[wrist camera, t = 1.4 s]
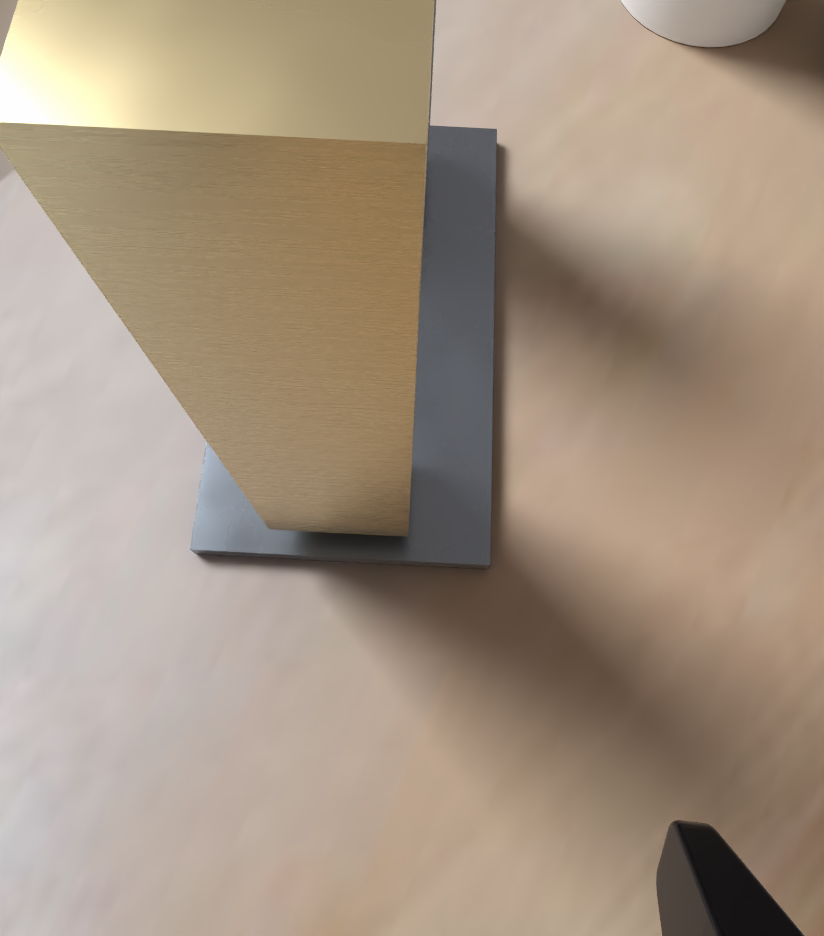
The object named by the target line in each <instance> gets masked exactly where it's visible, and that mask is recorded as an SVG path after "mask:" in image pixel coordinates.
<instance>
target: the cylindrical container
mask: <svg viewBox="0 0 824 936" xmlns="http://www.w3.org/2000/svg"><path fill="white" fill-rule="evenodd" d="M621 2H622V4H623V5H624V6H625V8H626V9H627V10H628V12H629V13H630V14H631V15H632V16H633V17H634V18H635V19H636V20H637V21H639V22H640V23H641V24H642V25H643V26H644V27H646V28H648V29H649V30H651V31H653V32H655V33H656V34H658V35H660V36H662V37H665V38H667V39H670V40H672V41H675V42H679V43H683V44H687V45H691V46H700V47H725V46H730V45H735V44H740V43H743V42H745V41H748V40H750V39H753V38H755V37H757V36H758V35H760V34H761V33H763V32H764V31H766V30H767V29H768V28H769V27H770V26H771V25H772V24H773V22H774V21H775V20H776V19H777V17H778V15H779V13H780V11H781V9H782V8H783V6H784V4H785V2H786V0H621Z"/></svg>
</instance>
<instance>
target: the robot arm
mask: <svg viewBox="0 0 824 936" xmlns="http://www.w3.org/2000/svg"><path fill="white" fill-rule="evenodd" d="M656 887H657V898H658V905H659V913H660V921H661V928H662V936H804V935H803V934H802V932H801V931H800V930H799V929H798V928H797V926H796V925H795V924H794V923H793V922H792V920H791V919H790V918H789V917H788V916H787V914H786V913H785V912H784V911H783V910H782V908H781V907H780V906H779V905H778V904H777V902H776V901H775V900H774V899H773V898H772V897H771V895H770V894H769V893H768V892H767V891H766V889H765V888H764V887H763V886H762V885H761V883H760V882H759V881H758V880H757V879H756V877H755V876H754V875H753V874H752V873H751V871H750V870H749V869H748V868H747V867H746V865H745V864H744V863H743V862H742V861H741V859H740V858H739V857H738V856H737V855H736V853H735V852H734V851H733V850H732V849H731V847H730V846H729V845H728V844H727V843H726V842H725V840H724V839H723V838H722V837H721V836H720V834H719V833H718V832H717V831H716V830H715V829H714V828H713V827H712V826H710V825H708V824H705V823H698V822H689V821H680V820H677V821H674V822H672V823H671V825H670V826H669V829H668V832H667V836H666V839H665V843H664V847H663V850H662V854H661V858H660V861H659V865H658V869H657V877H656Z"/></svg>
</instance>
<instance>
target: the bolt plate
mask: <svg viewBox="0 0 824 936" xmlns="http://www.w3.org/2000/svg"><path fill="white" fill-rule="evenodd" d="M435 15H436V0H434V21H433V41H432V62H431V83H430V104H429V124H428V145H427V166H426V187H425V208H424V228H423V249H422V270H421V291H420V311H419V332H418V353H417V374H416V394H415V415H414V436H413V455H412V474H411V493H410V512H409V530H408V537H404V536H385V535H366V534H347V533H328V532H309V531H290V530H271V529H268V527H267V526H266V524H265V523H264V522H263V520H262V519H261V517H260V516H259V515H258V513H257V512H256V510H255V509H254V507H253V506H252V505H251V503H250V502H249V500H248V499H247V498H246V496H245V495H244V493H243V492H242V490H241V489H240V488H239V486H238V485H237V483H236V482H235V481H234V479H233V478H232V476H231V475H230V473H229V472H228V471H227V469H226V468H225V466H224V465H223V464H222V462H221V461H220V459H219V458H218V456H217V455H216V454H215V452H214V451H213V449H212V448H211V446H210V445H209V444H208V442H206V449H205V455H204V462H203V468H202V475H201V481H200V488H199V494H198V501H197V508H196V514H195V521H194V527H193V534H192V540H191V547H190V550H191V551H193V552H194V553H195V554H211V555H230V556H249V557H268V558H287V559H306V560H325V561H344V562H363V563H382V564H401V565H420V566H439V567H458V568H477V569H488V568H489V567H490V555H491V487H492V418H493V350H494V282H495V213H496V145H497V129H485V128H466V127H446V126H430V114H431V94H432V74H433V55H434V35H435Z"/></svg>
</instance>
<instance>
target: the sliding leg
mask: <svg viewBox="0 0 824 936" xmlns="http://www.w3.org/2000/svg"><path fill="white" fill-rule="evenodd" d="M433 21H434V0H18V3H17V6H16V10H15V13H14V16H13V20H12V22H11V26H10V29H9V32H8V36H7V38H6V42H5V45H4V48H3V51H2V55H1V58H0V149H1V150H2V151H3V153H4V154H5V156H6V157H7V159H8V160H9V161H10V163H11V164H12V166H13V167H14V169H15V170H16V171H17V173H18V174H19V176H20V177H21V179H22V180H23V181H24V183H25V184H26V186H27V187H28V188H29V190H30V191H31V193H32V194H33V196H34V197H35V198H36V200H37V201H38V203H39V204H40V205H41V207H42V208H43V210H44V211H45V213H46V214H47V215H48V217H49V218H50V220H51V221H52V222H53V224H54V225H55V227H56V228H57V230H58V231H59V232H60V234H61V235H62V237H63V238H64V239H65V241H66V242H67V244H68V245H69V247H70V248H71V249H72V251H73V252H74V254H75V255H76V256H77V258H78V259H79V261H80V262H81V264H82V265H83V266H84V268H85V269H86V271H87V272H88V274H89V275H90V276H91V278H92V279H93V281H94V282H95V283H96V285H97V286H98V288H99V289H100V291H101V292H102V293H103V295H104V296H105V298H106V299H107V300H108V302H109V303H110V305H111V306H112V308H113V309H114V310H115V312H116V313H117V315H118V316H119V317H120V319H121V320H122V322H123V323H124V325H125V326H126V327H127V329H128V330H129V332H130V333H131V334H132V336H133V337H134V339H135V340H136V342H137V343H138V344H139V346H140V347H141V349H142V350H143V351H144V353H145V354H146V356H147V357H148V359H149V360H150V361H151V363H152V364H153V366H154V367H155V369H156V370H157V371H158V373H159V374H160V376H161V377H162V378H163V380H164V381H165V383H166V384H167V386H168V387H169V388H170V390H171V391H172V393H173V394H174V395H175V397H176V398H177V400H178V401H179V403H180V404H181V405H182V407H183V408H184V410H185V411H186V412H187V414H188V415H189V417H190V418H191V420H192V421H193V422H194V424H195V425H196V427H197V428H198V429H199V431H200V432H201V434H202V435H203V437H204V438H205V439H206V441H207V442H208V444H209V445H210V446H211V448H212V449H213V451H214V452H215V454H216V455H217V456H218V458H219V459H220V461H221V462H222V464H223V465H224V466H225V468H226V469H227V471H228V472H229V473H230V475H231V476H232V478H233V479H234V481H235V482H236V483H237V485H238V486H239V488H240V489H241V490H242V492H243V493H244V495H245V496H246V498H247V499H248V500H249V502H250V503H251V505H252V506H253V507H254V509H255V510H256V512H257V513H258V515H259V516H260V517H261V519H262V520H263V522H264V523H265V524H266V526H267V527H268V529H271V530H290V531H309V532H328V533H347V534H366V535H385V536H404V537H408V530H409V512H410V493H411V474H412V455H413V436H414V415H415V394H416V374H417V353H418V332H419V311H420V291H421V270H422V249H423V228H424V208H425V187H426V166H427V145H428V124H429V104H430V83H431V62H432V41H433Z"/></svg>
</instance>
